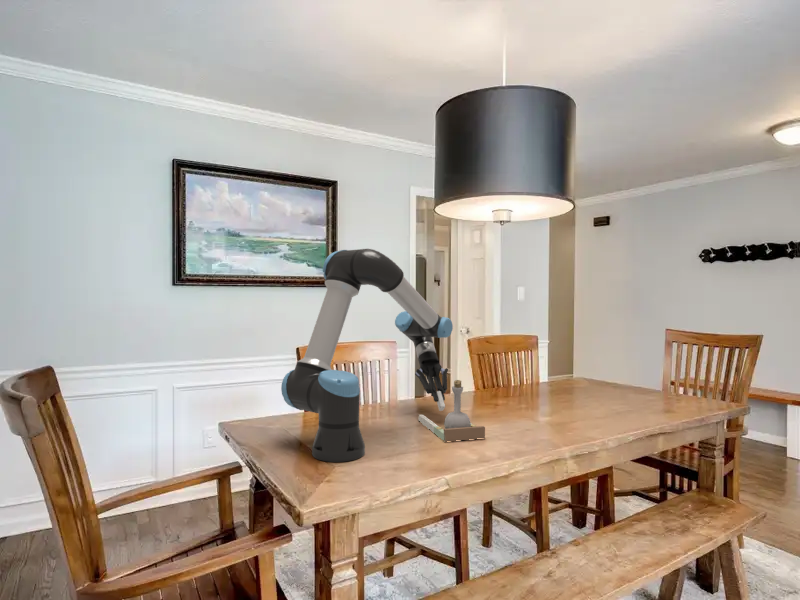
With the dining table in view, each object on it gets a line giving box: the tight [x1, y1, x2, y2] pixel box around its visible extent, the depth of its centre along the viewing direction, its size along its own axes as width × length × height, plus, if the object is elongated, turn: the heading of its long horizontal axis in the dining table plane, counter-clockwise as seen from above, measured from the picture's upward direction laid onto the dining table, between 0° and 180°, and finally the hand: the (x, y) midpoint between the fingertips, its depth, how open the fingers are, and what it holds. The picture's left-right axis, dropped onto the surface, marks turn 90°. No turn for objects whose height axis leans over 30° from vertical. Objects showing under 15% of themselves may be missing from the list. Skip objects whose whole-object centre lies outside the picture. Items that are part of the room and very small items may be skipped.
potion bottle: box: [443, 379, 472, 429], centre depth 159 cm, size 9×9×18 cm
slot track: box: [418, 414, 486, 443], centre depth 165 cm, size 26×14×4 cm, turn 16°
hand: (442, 408), depth 172 cm, fingers closed
